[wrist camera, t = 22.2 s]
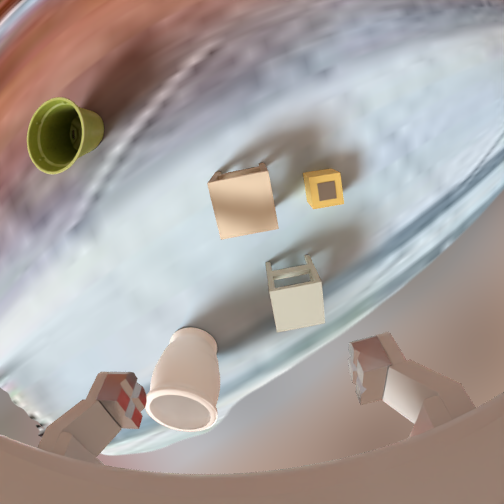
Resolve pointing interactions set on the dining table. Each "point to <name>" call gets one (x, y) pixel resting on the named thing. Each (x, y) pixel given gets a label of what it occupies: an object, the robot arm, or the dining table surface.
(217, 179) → the tan square stool
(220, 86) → the dining table surface
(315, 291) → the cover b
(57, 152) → the plant pot
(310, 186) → the letter block
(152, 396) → the jar
